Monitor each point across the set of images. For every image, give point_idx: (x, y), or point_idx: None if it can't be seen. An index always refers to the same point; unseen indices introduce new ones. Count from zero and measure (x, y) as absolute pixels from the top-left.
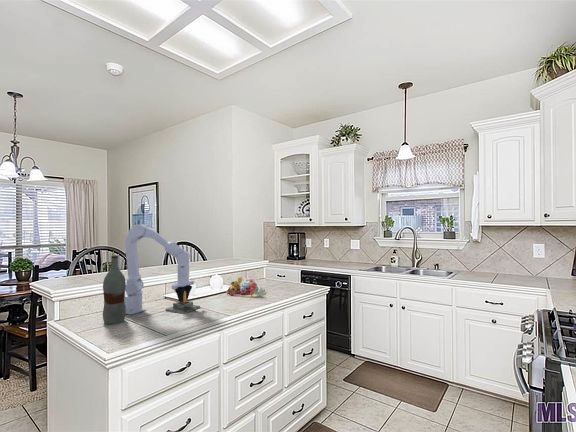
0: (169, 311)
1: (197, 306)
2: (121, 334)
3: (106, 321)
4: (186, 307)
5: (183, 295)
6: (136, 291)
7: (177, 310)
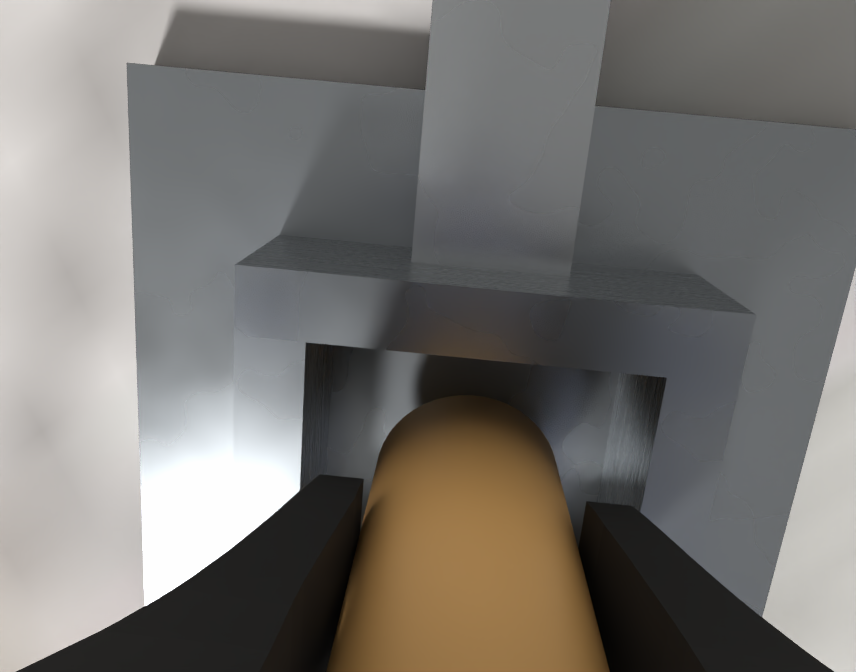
0: None
1: (227, 100)
2: None
3: None
4: (585, 273)
5: (583, 662)
6: None
7: (803, 401)
